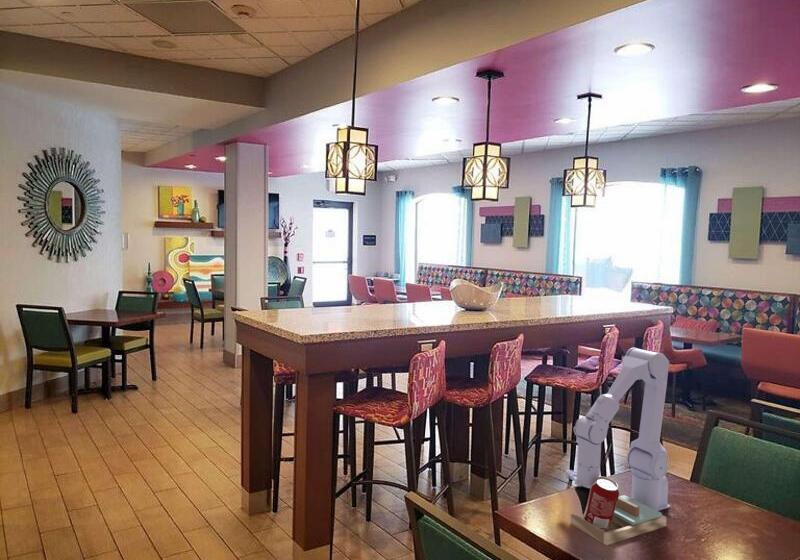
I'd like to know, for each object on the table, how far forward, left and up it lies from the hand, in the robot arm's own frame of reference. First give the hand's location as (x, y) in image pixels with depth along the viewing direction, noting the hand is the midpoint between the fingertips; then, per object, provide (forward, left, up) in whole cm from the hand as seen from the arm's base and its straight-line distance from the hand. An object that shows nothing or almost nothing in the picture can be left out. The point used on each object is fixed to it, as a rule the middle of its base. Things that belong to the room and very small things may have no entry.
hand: (586, 514), depth 152 cm
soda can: (0, +4, -1) cm, 4 cm away
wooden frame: (-5, +5, -1) cm, 8 cm away
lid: (-10, +5, +1) cm, 11 cm away
